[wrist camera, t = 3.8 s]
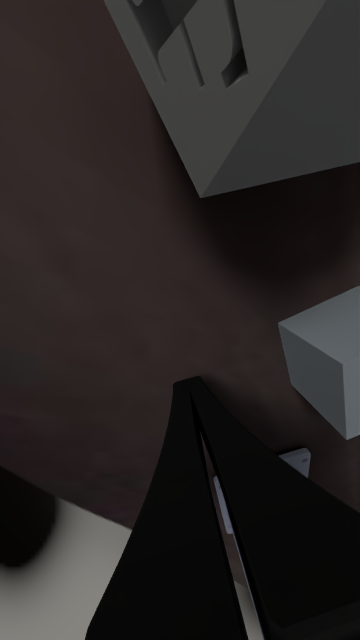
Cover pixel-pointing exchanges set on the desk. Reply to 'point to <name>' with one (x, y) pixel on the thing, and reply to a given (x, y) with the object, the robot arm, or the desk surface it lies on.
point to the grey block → (327, 359)
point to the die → (250, 84)
